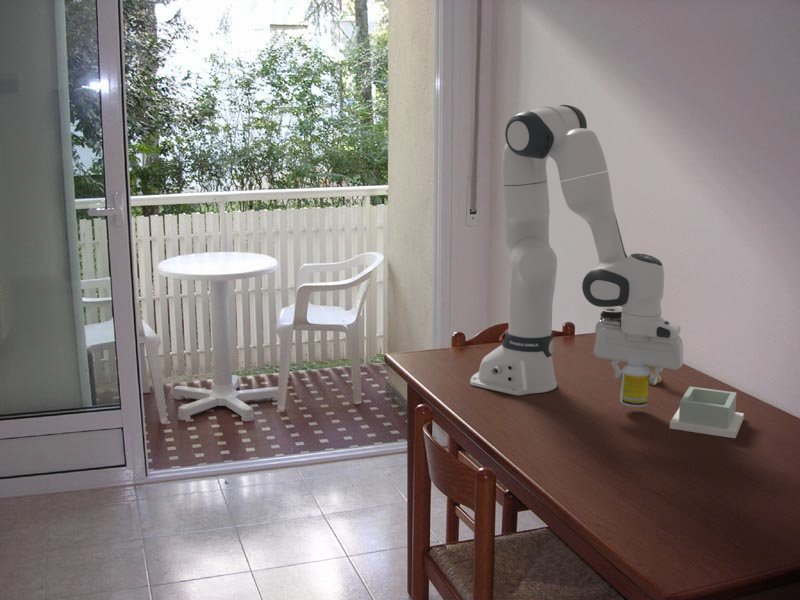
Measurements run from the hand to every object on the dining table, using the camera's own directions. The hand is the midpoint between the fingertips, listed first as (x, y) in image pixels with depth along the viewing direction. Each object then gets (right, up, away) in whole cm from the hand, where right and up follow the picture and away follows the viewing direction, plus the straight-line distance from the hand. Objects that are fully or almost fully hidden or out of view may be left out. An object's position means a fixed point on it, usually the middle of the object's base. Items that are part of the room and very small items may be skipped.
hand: (635, 381), depth 207 cm
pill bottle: (0, -6, +1) cm, 6 cm away
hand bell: (+10, -2, +26) cm, 28 cm away
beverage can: (+7, +4, +55) cm, 56 cm away
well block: (+15, -9, -7) cm, 18 cm away
